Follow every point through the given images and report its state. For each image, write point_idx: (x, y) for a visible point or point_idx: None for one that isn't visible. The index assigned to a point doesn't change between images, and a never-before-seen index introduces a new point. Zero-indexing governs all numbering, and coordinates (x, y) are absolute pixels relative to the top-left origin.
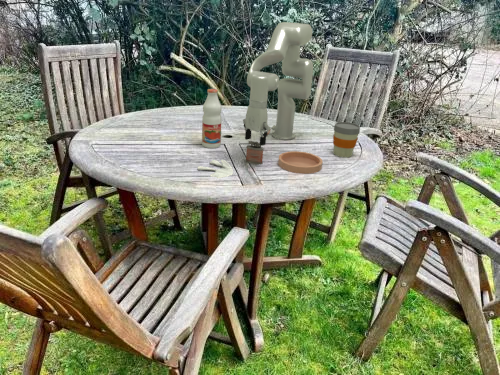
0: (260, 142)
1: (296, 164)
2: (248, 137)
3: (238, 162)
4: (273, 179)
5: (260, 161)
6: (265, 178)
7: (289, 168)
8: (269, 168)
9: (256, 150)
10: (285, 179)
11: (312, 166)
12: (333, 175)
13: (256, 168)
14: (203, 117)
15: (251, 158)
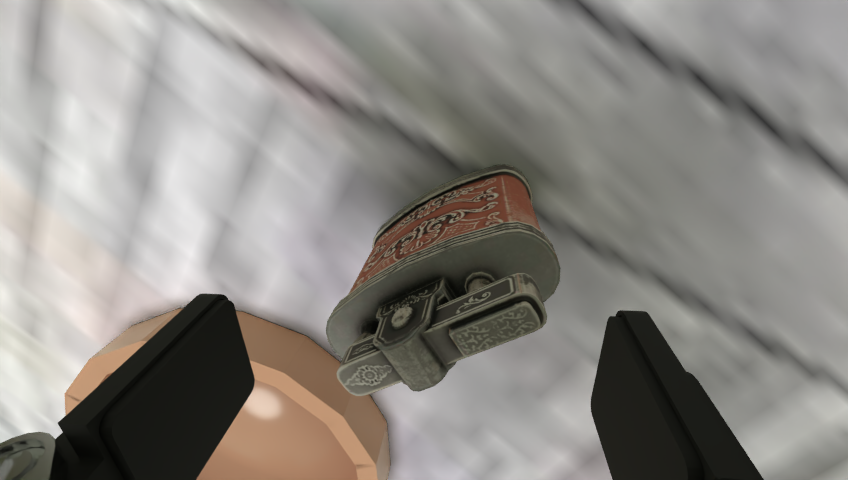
0: (167, 327)
1: None
2: (609, 383)
3: (544, 80)
4: (52, 94)
5: (375, 245)
6: (84, 42)
7: (156, 324)
8: (272, 234)
9: (385, 272)
10: (38, 182)
11: None
12: None
13: (318, 136)
14: None
15: (448, 201)
